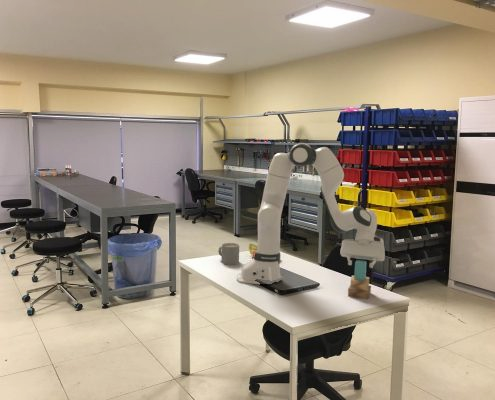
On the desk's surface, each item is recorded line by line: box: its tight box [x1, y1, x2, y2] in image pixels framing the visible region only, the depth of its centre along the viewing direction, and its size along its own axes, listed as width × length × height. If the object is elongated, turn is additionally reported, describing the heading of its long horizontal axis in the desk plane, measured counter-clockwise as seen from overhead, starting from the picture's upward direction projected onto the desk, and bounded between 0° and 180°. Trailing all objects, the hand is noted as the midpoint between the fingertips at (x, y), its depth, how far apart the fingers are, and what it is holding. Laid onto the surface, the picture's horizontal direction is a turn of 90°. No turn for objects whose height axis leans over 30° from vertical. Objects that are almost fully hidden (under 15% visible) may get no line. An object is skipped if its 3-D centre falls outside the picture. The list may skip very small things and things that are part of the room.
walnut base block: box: [347, 285, 372, 300], centre depth 211 cm, size 9×9×4 cm
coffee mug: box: [217, 242, 240, 265], centre depth 260 cm, size 13×10×10 cm
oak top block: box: [349, 275, 370, 291], centre depth 211 cm, size 8×8×4 cm
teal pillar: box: [353, 259, 368, 281], centre depth 210 cm, size 4×4×8 cm
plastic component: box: [248, 243, 258, 258], centre depth 271 cm, size 20×7×10 cm
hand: (360, 265), depth 209 cm, fingers open, 8 cm apart
